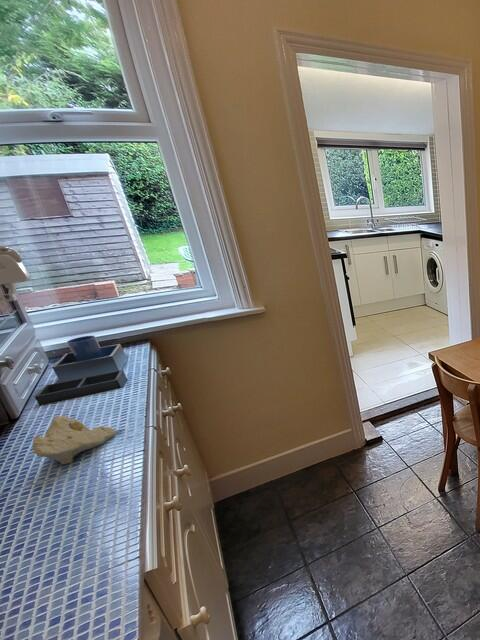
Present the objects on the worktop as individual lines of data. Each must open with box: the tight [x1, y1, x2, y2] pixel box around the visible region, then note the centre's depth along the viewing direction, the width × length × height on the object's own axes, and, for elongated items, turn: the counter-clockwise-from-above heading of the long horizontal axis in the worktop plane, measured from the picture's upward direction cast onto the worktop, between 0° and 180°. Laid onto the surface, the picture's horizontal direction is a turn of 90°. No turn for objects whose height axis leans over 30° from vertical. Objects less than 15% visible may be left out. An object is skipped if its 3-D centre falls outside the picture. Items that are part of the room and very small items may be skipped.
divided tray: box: [34, 369, 128, 407], centre depth 123 cm, size 18×9×4 cm, turn 123°
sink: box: [51, 343, 128, 382], centre depth 138 cm, size 14×14×6 cm
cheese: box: [32, 415, 117, 465], centre depth 92 cm, size 15×7×15 cm
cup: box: [66, 335, 105, 362], centre depth 137 cm, size 7×7×11 cm
